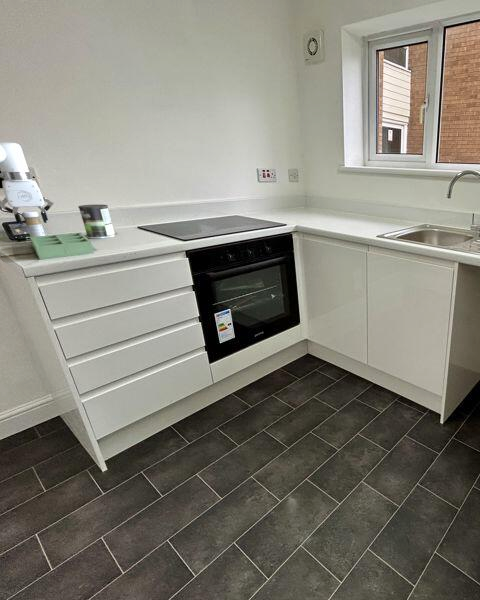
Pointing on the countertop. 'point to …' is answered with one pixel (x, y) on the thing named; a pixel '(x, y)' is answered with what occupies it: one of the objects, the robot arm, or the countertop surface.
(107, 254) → the countertop surface
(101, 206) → the coffee can
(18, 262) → the countertop surface
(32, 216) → the sprinkles bottle
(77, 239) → the grid tray
